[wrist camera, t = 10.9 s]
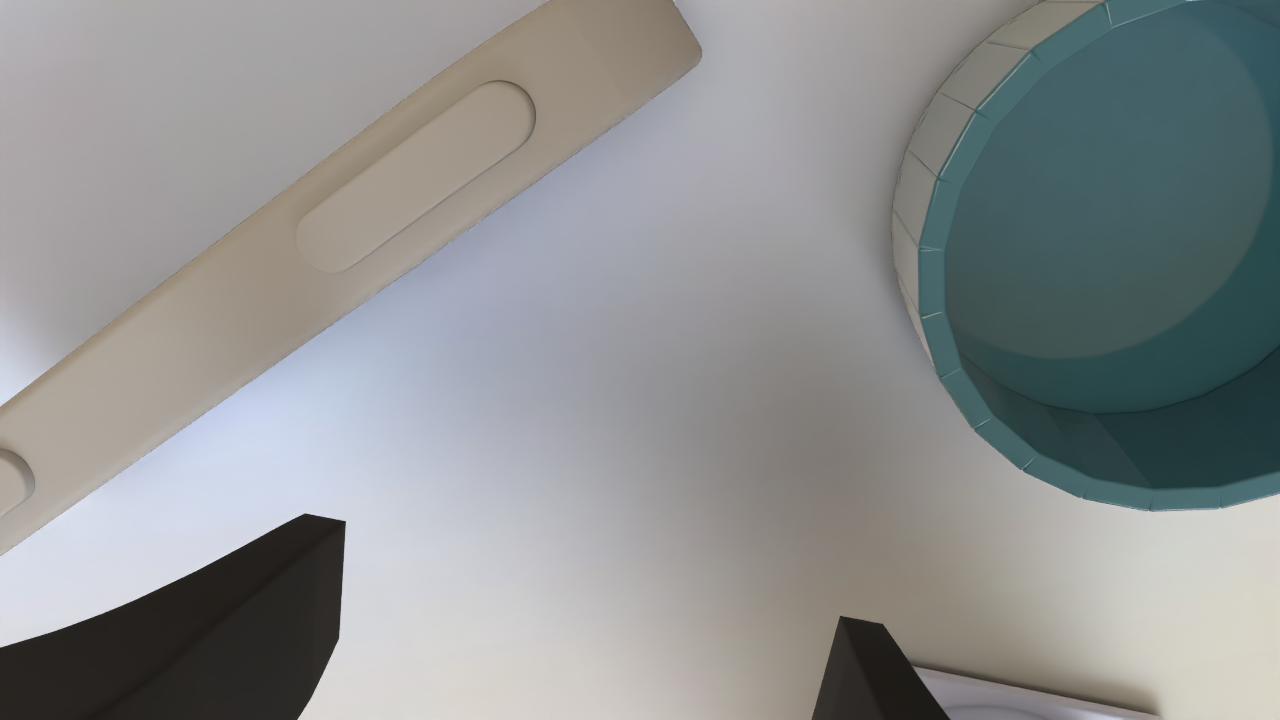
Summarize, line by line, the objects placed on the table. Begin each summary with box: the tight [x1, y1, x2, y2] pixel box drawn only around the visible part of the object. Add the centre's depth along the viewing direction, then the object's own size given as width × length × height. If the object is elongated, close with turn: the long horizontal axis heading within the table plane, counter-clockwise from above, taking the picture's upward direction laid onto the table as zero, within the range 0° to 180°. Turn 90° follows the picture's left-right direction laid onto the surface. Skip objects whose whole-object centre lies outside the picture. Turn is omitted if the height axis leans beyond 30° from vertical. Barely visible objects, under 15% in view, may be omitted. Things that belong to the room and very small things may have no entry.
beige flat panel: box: [0, 0, 702, 556], centre depth 20 cm, size 20×2×8 cm, turn 125°
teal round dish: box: [891, 0, 1280, 512], centre depth 20 cm, size 10×10×4 cm
